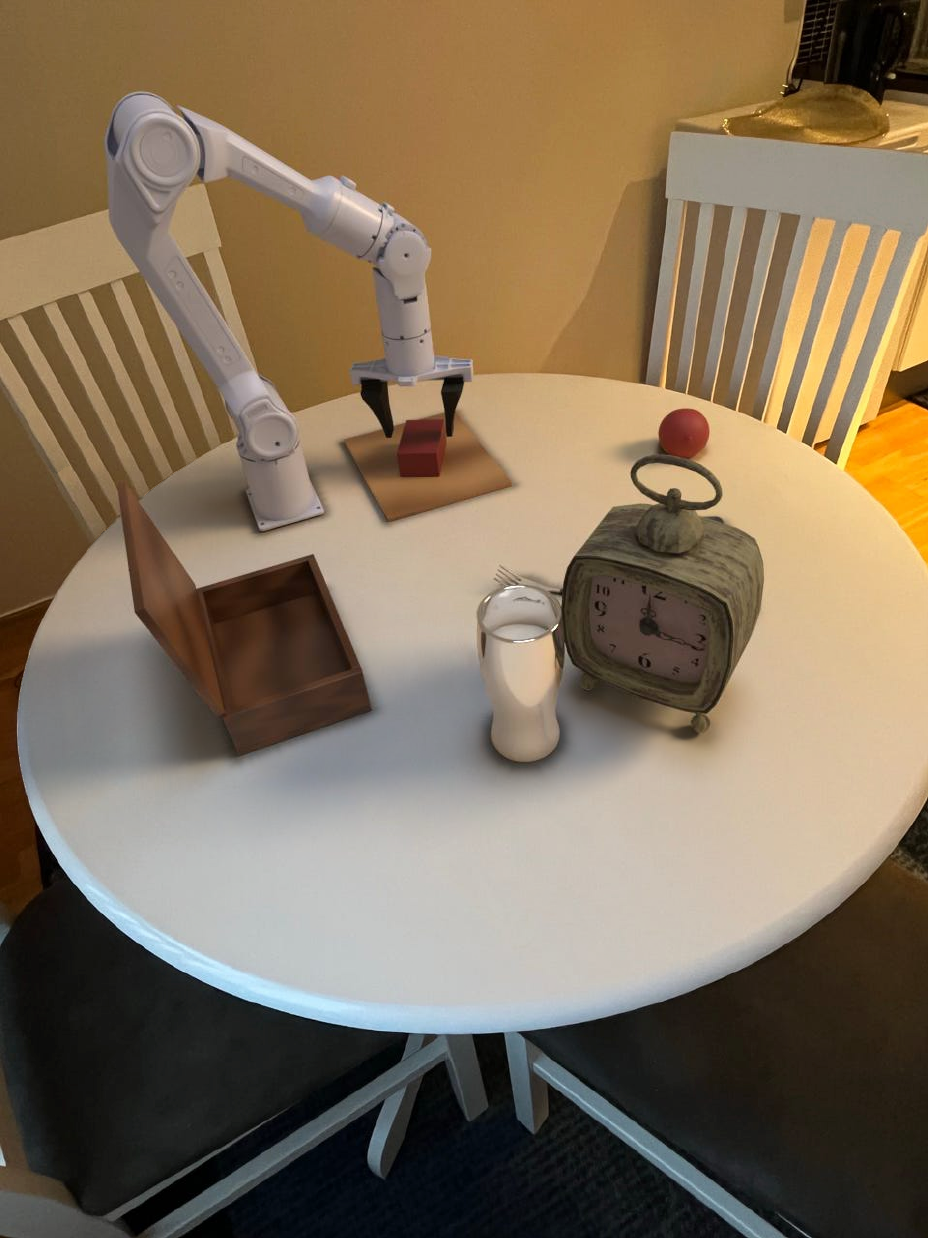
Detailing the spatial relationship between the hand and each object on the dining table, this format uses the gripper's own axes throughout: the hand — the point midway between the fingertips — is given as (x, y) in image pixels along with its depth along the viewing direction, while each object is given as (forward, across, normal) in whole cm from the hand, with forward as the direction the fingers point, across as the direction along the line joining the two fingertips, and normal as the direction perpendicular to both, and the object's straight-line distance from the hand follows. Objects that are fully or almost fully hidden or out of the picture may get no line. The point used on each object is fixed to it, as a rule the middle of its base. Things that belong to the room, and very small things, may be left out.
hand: (419, 433), depth 104 cm
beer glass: (+5, +15, -44) cm, 47 cm away
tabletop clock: (+5, +27, -38) cm, 47 cm away
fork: (+5, +19, -25) cm, 32 cm away
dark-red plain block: (+4, 0, 0) cm, 4 cm away
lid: (-8, -15, -39) cm, 43 cm away
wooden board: (+4, 0, 0) cm, 4 cm away
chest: (+4, -9, -36) cm, 38 cm away
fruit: (+5, +33, +1) cm, 33 cm away
